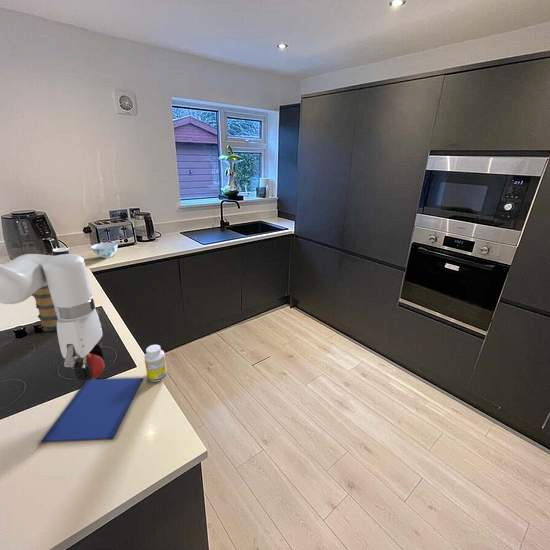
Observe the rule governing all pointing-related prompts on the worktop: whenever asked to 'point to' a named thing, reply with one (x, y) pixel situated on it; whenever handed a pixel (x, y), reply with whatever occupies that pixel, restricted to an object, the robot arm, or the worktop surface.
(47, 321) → the mug
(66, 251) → the dixie cup
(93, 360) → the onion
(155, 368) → the supplement bottle
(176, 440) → the worktop surface
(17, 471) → the worktop surface
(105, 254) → the chinaware
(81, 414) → the cloth
